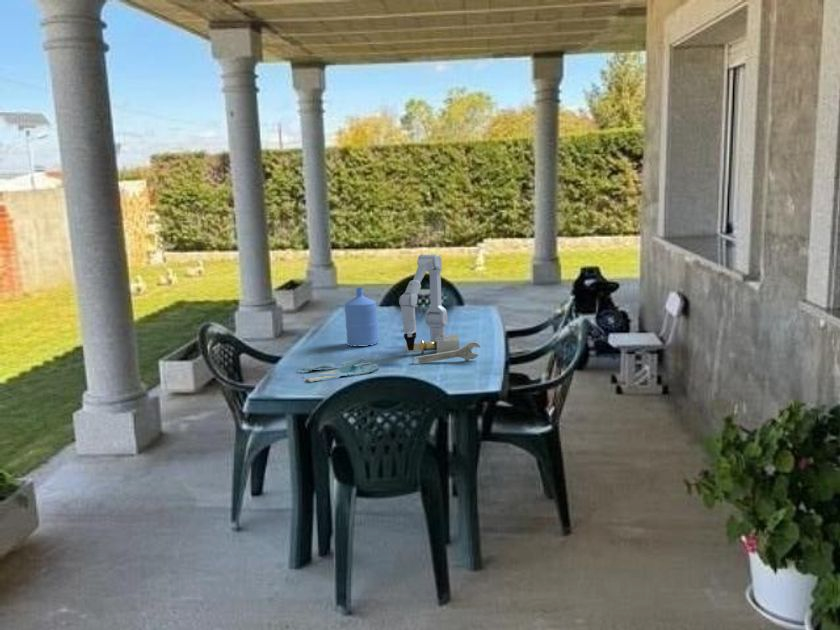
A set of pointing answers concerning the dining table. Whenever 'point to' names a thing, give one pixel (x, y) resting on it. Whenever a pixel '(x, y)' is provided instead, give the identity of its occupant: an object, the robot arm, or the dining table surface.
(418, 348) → the gold trophy
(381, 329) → the dining table surface
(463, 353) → the wrench
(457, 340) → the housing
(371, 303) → the water jug
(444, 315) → the robot arm
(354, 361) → the rubber gloves
